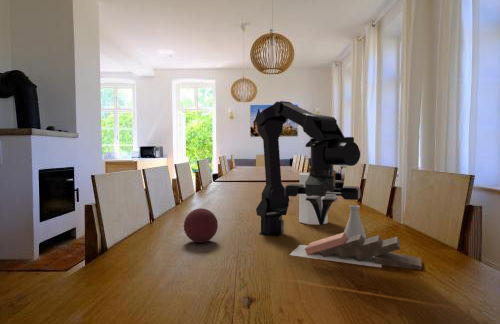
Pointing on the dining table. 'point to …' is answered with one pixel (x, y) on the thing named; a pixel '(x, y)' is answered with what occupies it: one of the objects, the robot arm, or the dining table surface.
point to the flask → (354, 223)
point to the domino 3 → (362, 247)
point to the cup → (307, 206)
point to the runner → (334, 257)
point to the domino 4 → (381, 249)
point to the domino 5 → (398, 260)
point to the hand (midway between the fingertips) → (321, 224)
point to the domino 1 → (326, 243)
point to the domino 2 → (345, 245)
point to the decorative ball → (200, 225)
